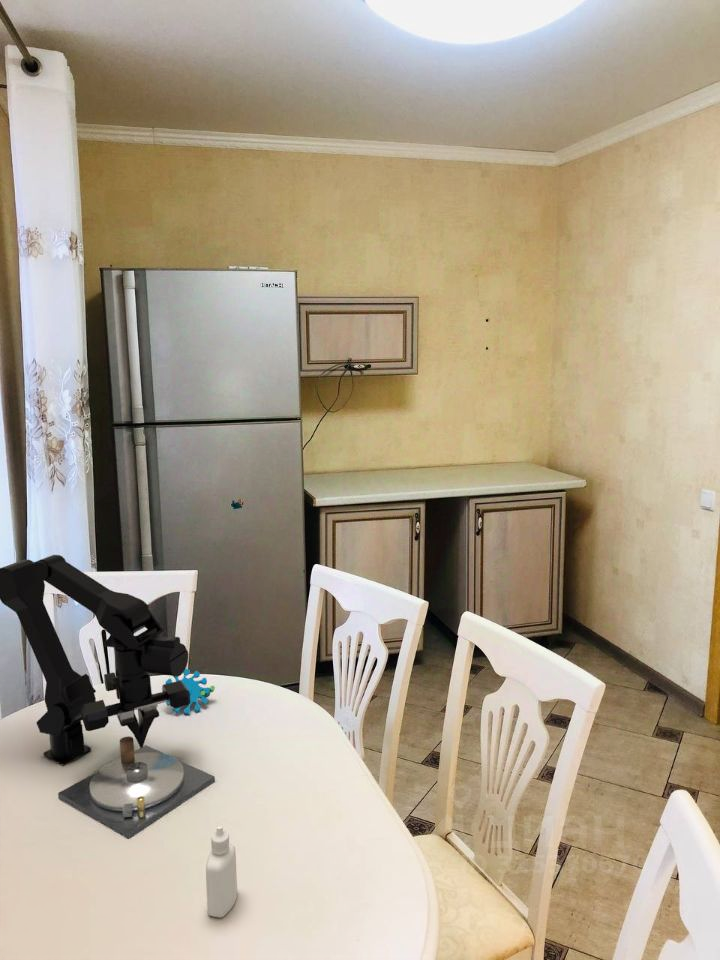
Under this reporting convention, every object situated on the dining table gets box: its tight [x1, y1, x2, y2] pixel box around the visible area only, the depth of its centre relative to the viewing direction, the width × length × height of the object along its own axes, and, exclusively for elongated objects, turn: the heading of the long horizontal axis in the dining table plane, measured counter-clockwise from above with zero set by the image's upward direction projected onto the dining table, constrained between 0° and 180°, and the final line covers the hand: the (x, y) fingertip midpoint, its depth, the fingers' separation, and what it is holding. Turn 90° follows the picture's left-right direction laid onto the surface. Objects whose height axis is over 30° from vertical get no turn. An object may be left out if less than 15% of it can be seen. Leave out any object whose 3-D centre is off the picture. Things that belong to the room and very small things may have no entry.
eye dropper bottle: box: [205, 825, 238, 918], centre depth 101 cm, size 4×6×12 cm
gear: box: [164, 668, 216, 716], centre depth 160 cm, size 11×6×10 cm
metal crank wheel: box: [90, 736, 184, 817], centre depth 128 cm, size 16×17×5 cm
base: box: [57, 744, 216, 839], centre depth 129 cm, size 19×19×4 cm
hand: (140, 746), depth 135 cm, fingers closed
